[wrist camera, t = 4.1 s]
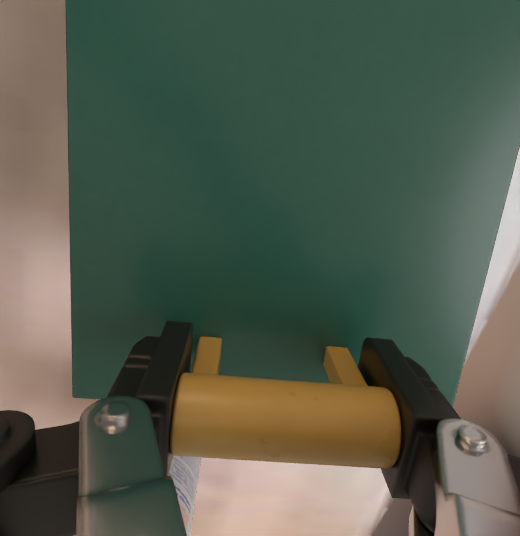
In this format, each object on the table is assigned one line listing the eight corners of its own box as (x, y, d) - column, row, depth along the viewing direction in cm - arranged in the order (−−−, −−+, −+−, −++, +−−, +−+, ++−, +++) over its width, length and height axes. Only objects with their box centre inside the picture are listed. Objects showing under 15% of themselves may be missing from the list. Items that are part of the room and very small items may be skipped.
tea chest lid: (438, 409, 15) (540, 542, 10) (81, 385, 14) (-12, 514, 9) (600, -247, 10) (968, -666, 5) (73, -340, 9) (-138, -953, 4)
